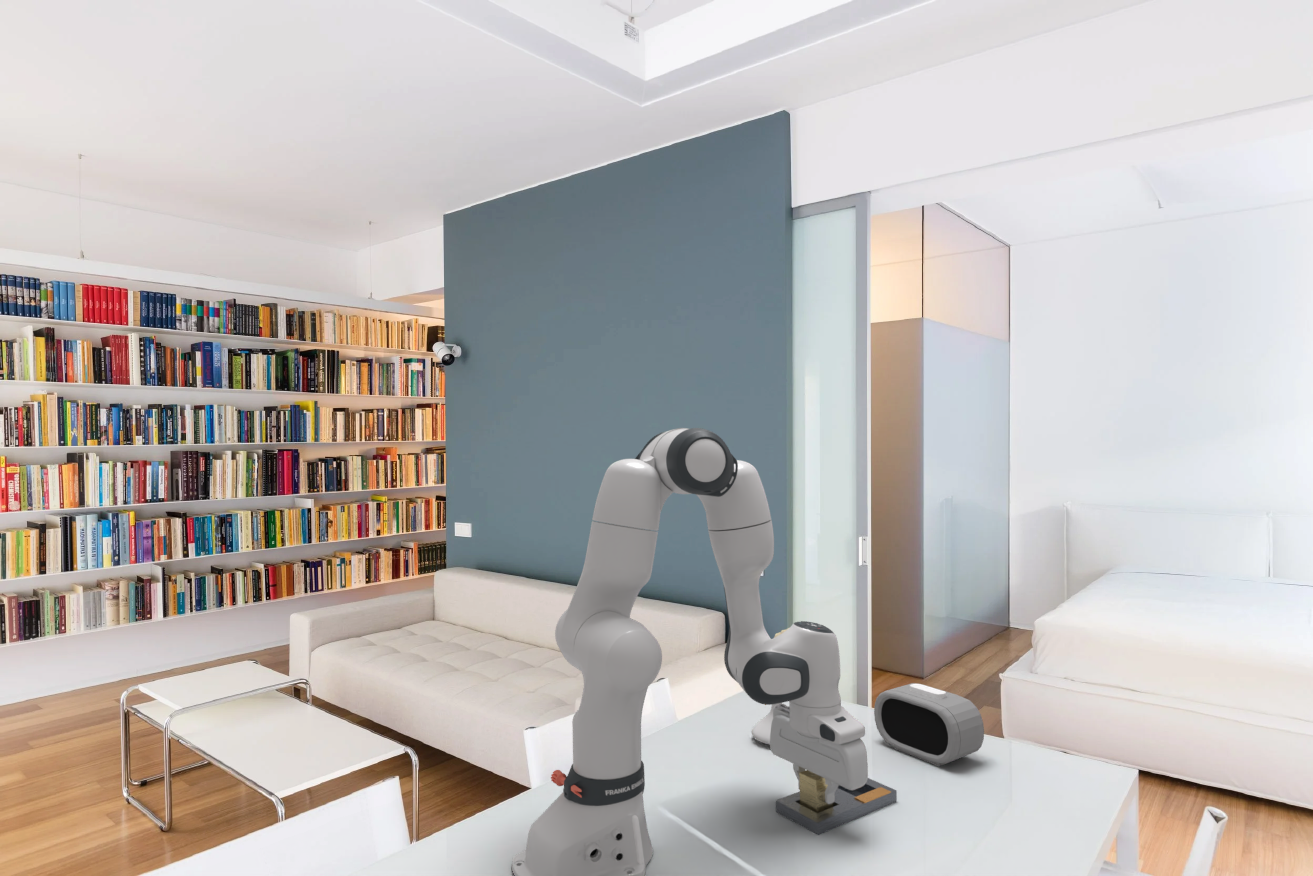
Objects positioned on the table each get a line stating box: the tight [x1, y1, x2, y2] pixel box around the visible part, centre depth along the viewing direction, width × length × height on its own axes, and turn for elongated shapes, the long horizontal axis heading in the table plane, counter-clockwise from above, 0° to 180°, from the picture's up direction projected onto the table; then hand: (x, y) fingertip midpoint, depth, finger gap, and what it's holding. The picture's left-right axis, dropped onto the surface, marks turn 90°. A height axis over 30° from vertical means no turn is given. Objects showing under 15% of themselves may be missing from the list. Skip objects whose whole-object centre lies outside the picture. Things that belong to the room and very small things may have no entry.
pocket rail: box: [775, 777, 898, 836], centre depth 137 cm, size 20×10×3 cm, turn 124°
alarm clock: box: [873, 682, 985, 767], centre depth 163 cm, size 21×10×13 cm, turn 33°
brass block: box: [799, 769, 833, 813], centre depth 134 cm, size 4×4×7 cm
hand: (816, 796), depth 134 cm, fingers closed on brass block, 4 cm apart
